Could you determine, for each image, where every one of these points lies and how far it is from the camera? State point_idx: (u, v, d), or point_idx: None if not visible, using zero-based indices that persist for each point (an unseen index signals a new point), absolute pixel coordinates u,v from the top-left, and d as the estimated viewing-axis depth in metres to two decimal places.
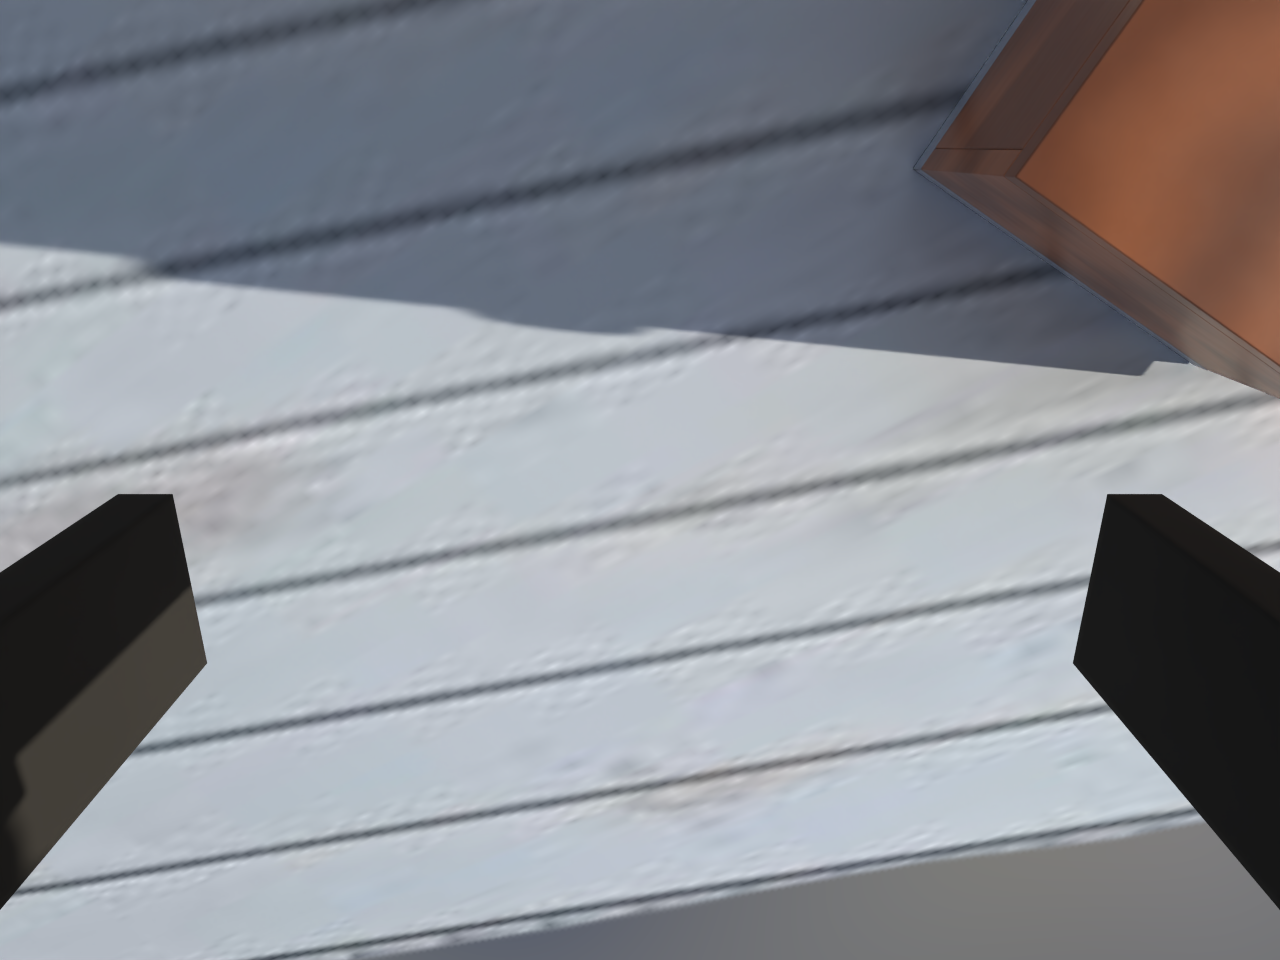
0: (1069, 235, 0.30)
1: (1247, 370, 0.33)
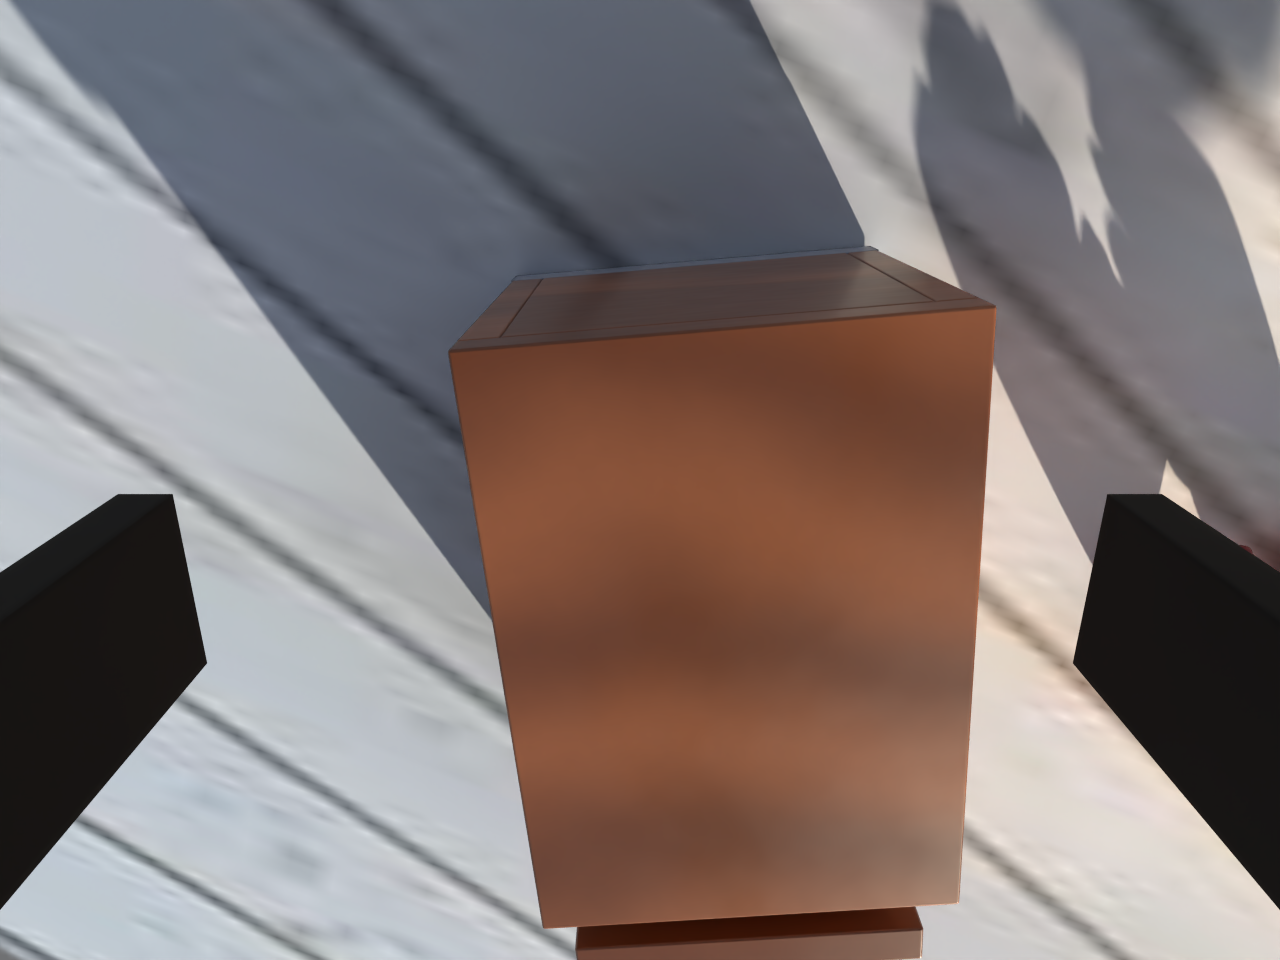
0: None
1: None
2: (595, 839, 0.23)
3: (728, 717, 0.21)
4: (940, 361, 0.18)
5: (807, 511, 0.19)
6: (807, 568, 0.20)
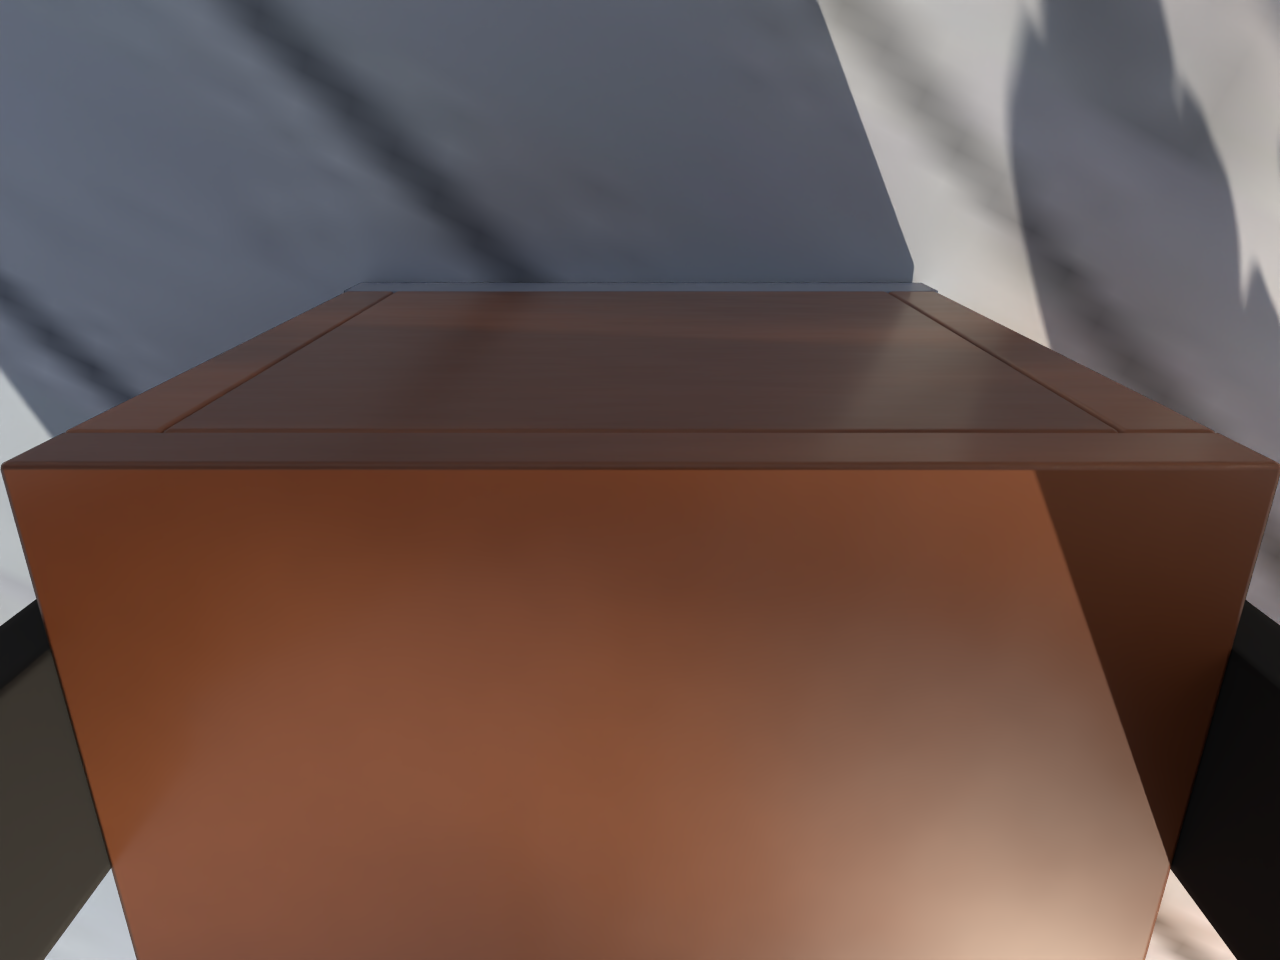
0: None
1: None
2: None
3: None
4: (1134, 574, 0.08)
5: (805, 843, 0.09)
6: (795, 945, 0.10)
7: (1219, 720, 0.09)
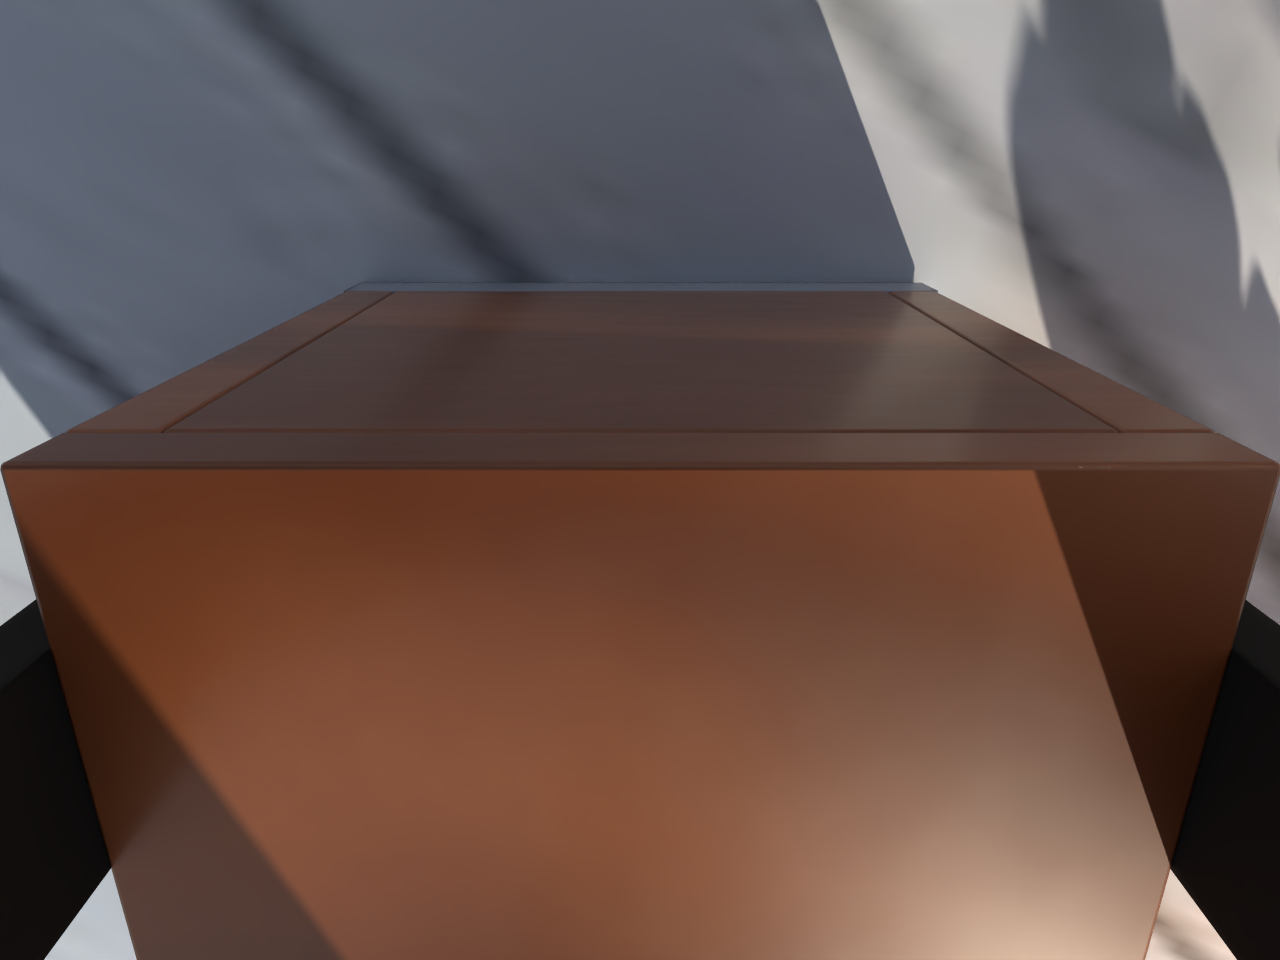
0: None
1: None
2: None
3: None
4: (1134, 574, 0.08)
5: (806, 844, 0.09)
6: (795, 945, 0.10)
7: (1220, 721, 0.09)
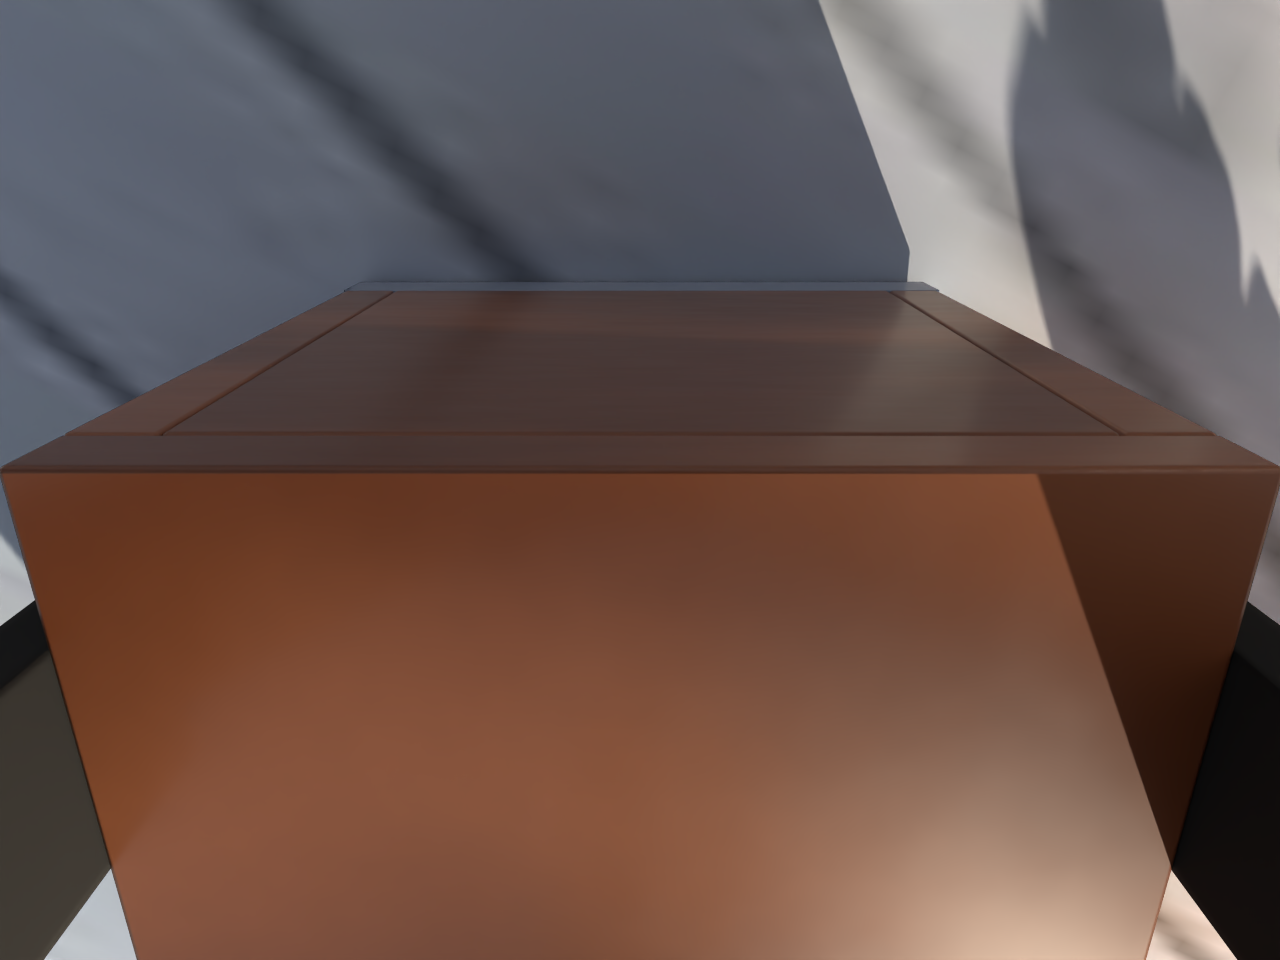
0: None
1: None
2: None
3: None
4: (1135, 577, 0.08)
5: (805, 847, 0.09)
6: (795, 947, 0.10)
7: (1219, 720, 0.09)
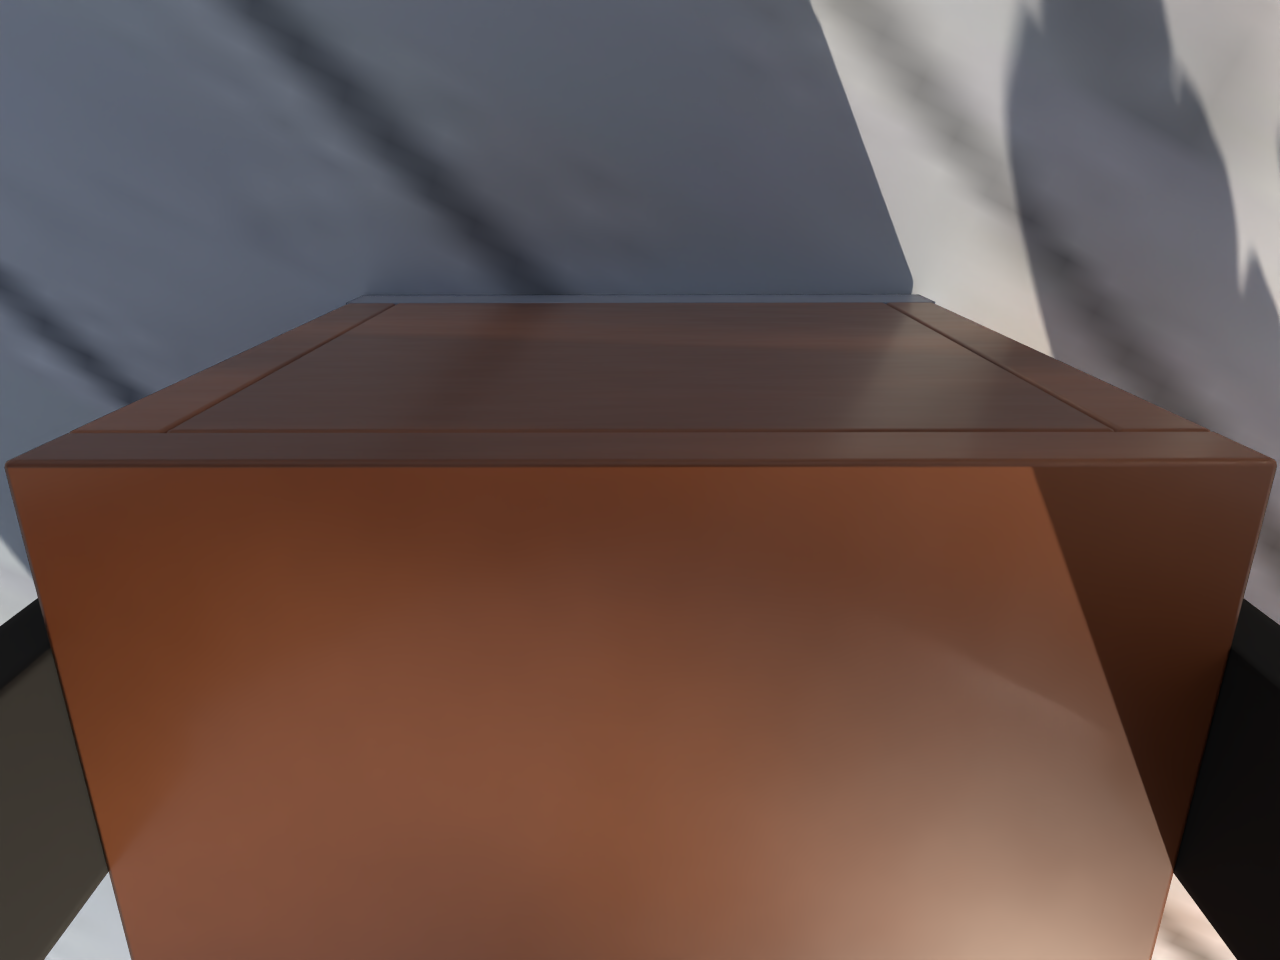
0: None
1: None
2: None
3: None
4: (1132, 571, 0.08)
5: (807, 846, 0.09)
6: (797, 950, 0.10)
7: (1219, 721, 0.09)
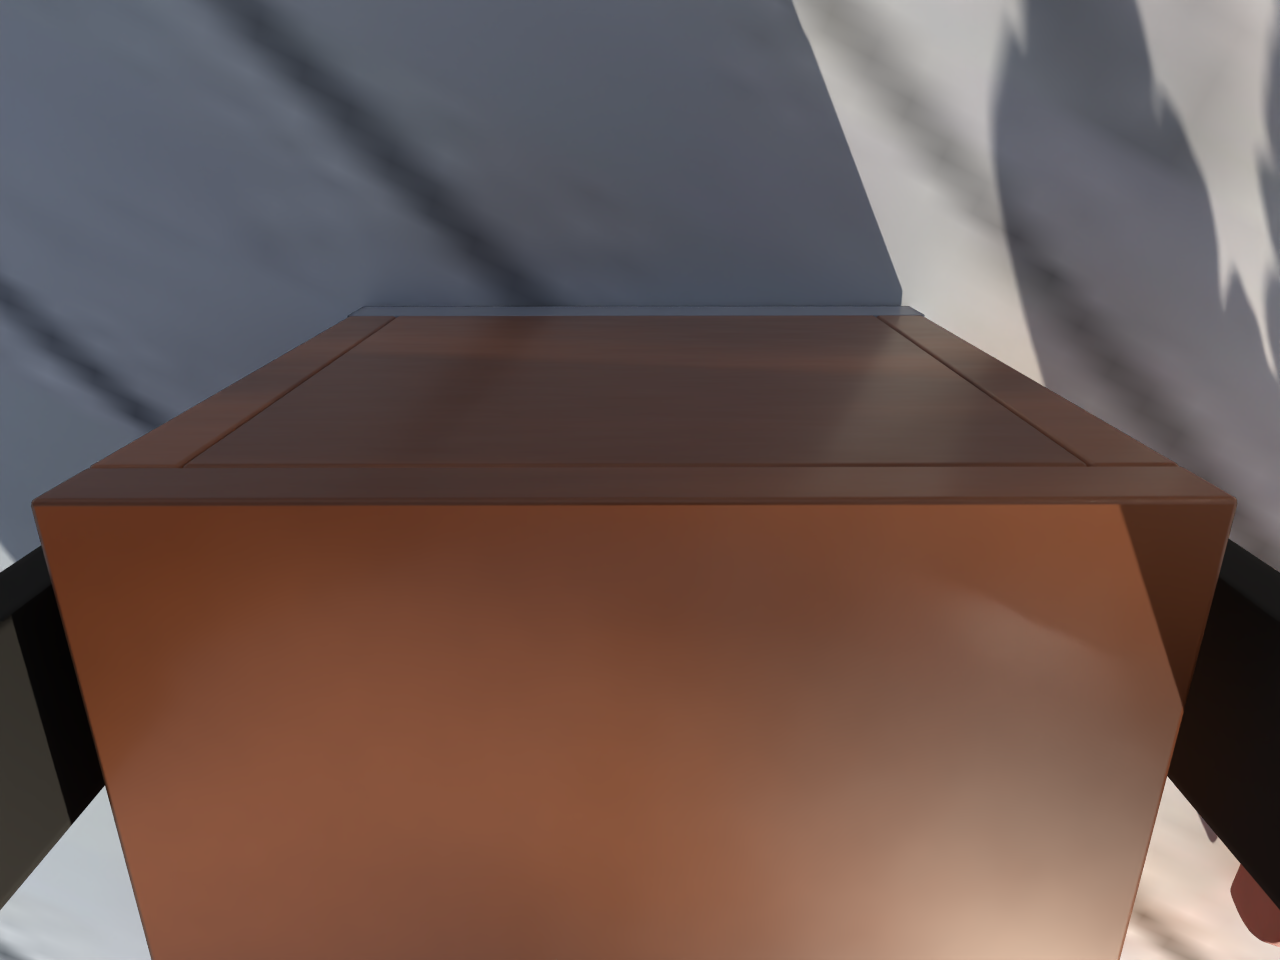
0: None
1: None
2: None
3: None
4: (1101, 601, 0.09)
5: (794, 856, 0.10)
6: (784, 952, 0.10)
7: None
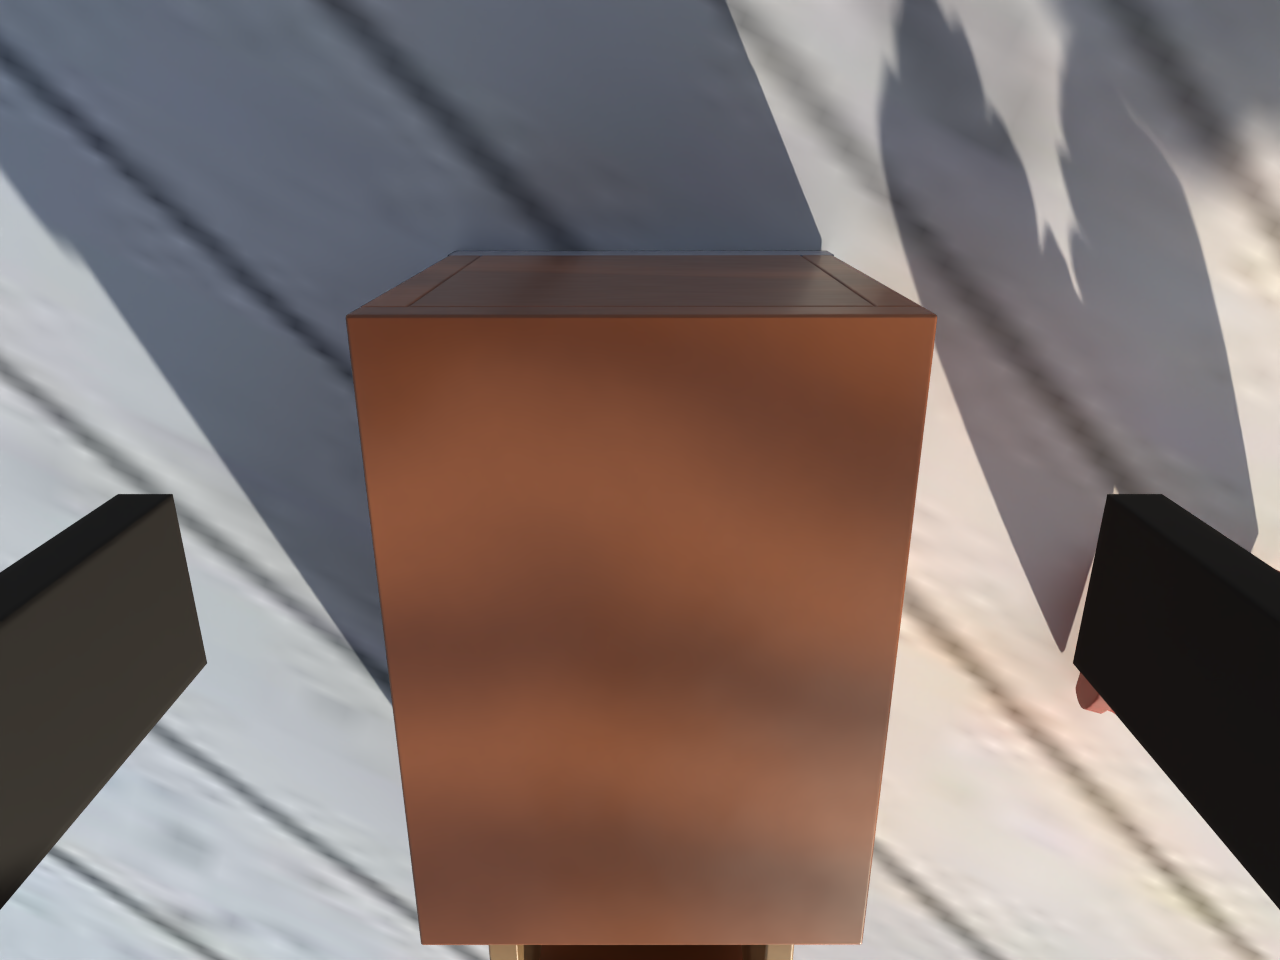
0: None
1: None
2: (482, 853, 0.21)
3: (629, 733, 0.20)
4: (874, 370, 0.17)
5: (724, 519, 0.18)
6: (722, 580, 0.19)
7: None
